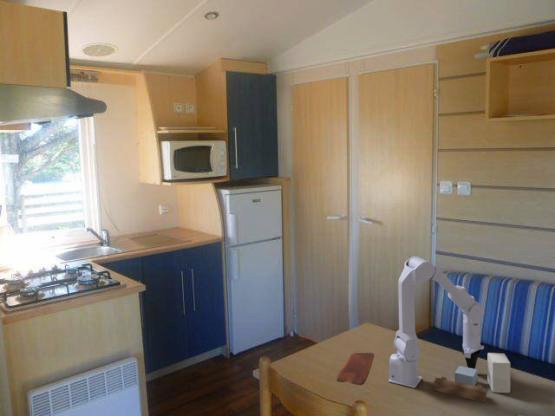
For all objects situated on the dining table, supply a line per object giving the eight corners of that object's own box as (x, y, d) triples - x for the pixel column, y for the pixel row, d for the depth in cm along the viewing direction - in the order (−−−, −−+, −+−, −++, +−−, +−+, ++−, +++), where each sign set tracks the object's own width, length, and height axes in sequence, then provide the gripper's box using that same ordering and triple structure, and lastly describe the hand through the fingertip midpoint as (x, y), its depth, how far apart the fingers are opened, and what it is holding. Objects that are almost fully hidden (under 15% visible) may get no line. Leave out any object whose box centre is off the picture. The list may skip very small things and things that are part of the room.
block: (454, 384, 169) (454, 372, 168) (459, 377, 174) (459, 365, 173) (472, 389, 165) (473, 376, 165) (477, 381, 170) (477, 369, 170)
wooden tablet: (363, 387, 172) (363, 382, 171) (335, 383, 175) (335, 378, 175) (377, 355, 196) (377, 351, 196) (352, 352, 200) (352, 348, 200)
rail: (434, 390, 166) (434, 380, 165) (437, 385, 169) (437, 375, 168) (484, 402, 157) (484, 392, 156) (487, 396, 160) (487, 386, 160)
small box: (510, 393, 161) (510, 363, 160) (492, 392, 162) (492, 362, 161) (504, 381, 169) (504, 352, 168) (487, 381, 170) (487, 352, 169)
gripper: (479, 342, 166) (479, 380, 168) (487, 328, 178) (487, 363, 180) (457, 338, 170) (457, 375, 172) (467, 324, 182) (467, 359, 184)
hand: (471, 369), depth 176 cm, fingers closed
